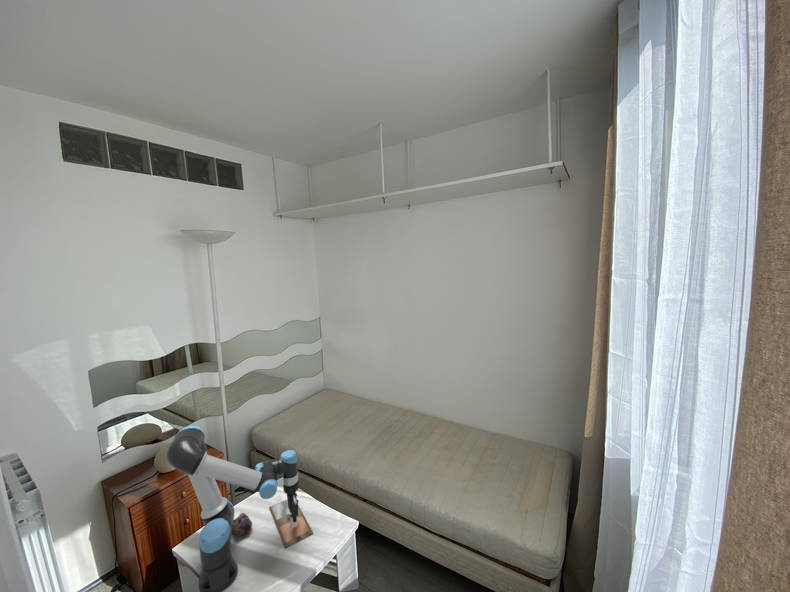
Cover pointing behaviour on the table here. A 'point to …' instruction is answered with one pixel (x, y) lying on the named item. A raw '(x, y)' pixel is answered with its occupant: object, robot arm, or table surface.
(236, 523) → the rock
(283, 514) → the board
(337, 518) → the table surface
